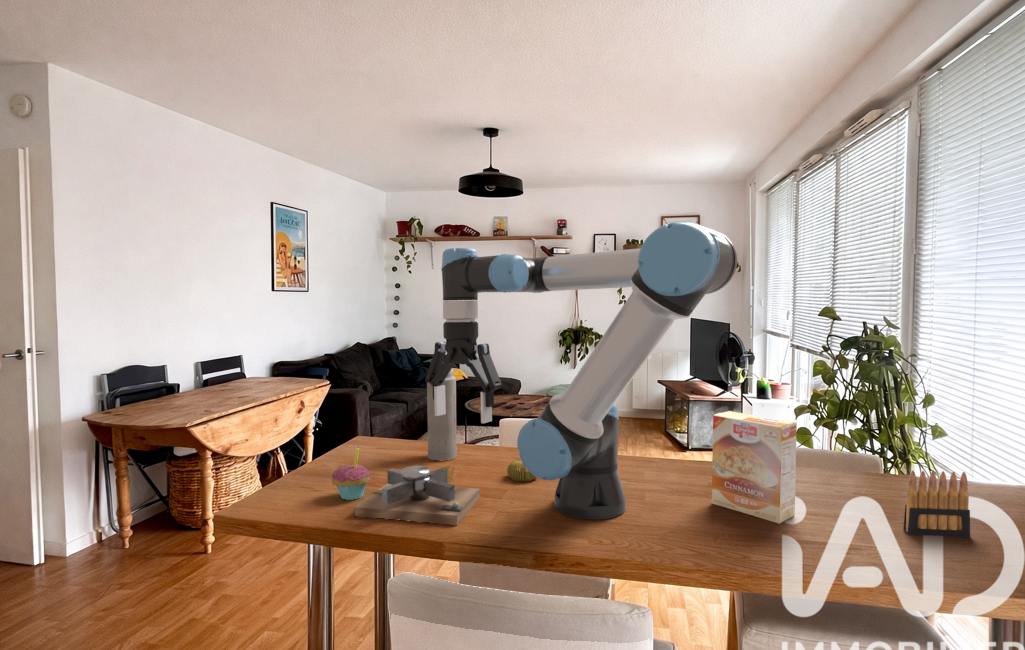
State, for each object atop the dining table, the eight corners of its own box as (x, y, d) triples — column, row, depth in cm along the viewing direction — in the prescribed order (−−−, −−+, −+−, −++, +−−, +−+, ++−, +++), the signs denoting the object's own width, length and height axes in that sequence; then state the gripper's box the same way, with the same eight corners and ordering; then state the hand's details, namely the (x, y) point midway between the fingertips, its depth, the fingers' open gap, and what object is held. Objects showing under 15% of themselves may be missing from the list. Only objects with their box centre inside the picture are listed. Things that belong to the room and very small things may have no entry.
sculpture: (517, 456, 148) (545, 460, 144) (517, 471, 148) (545, 476, 144) (500, 464, 141) (529, 469, 137) (501, 480, 142) (529, 485, 137)
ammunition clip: (908, 534, 108) (910, 471, 108) (903, 530, 110) (904, 468, 109) (970, 537, 107) (972, 473, 106) (964, 533, 109) (966, 470, 108)
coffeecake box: (710, 503, 125) (711, 414, 124) (727, 496, 129) (729, 410, 128) (779, 524, 113) (781, 426, 112) (796, 515, 118) (797, 421, 117)
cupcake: (377, 492, 133) (376, 440, 132) (358, 505, 125) (357, 450, 124) (344, 488, 135) (343, 438, 135) (323, 501, 127) (322, 447, 127)
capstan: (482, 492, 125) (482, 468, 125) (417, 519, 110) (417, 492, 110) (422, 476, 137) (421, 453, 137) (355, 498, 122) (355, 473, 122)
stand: (479, 497, 129) (479, 481, 129) (457, 525, 114) (456, 507, 113) (386, 490, 134) (386, 475, 134) (352, 516, 118) (352, 499, 118)
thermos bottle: (458, 453, 165) (457, 356, 164) (454, 461, 157) (453, 359, 156) (430, 453, 166) (429, 356, 164) (425, 461, 158) (424, 359, 156)
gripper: (517, 320, 120) (519, 422, 121) (432, 319, 135) (434, 409, 136) (494, 322, 114) (496, 428, 115) (408, 320, 129) (410, 415, 130)
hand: (462, 418), depth 125 cm, fingers open, 13 cm apart
